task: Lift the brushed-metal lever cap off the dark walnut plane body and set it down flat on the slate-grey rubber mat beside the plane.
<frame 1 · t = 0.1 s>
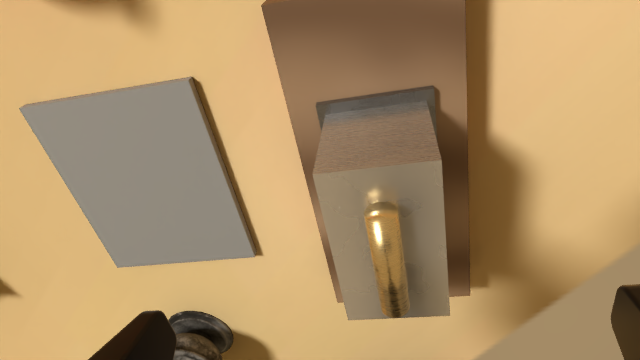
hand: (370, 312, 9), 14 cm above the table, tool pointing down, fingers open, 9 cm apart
weathered candle holder: (200, 331, 34), on the table
lever cap: (385, 181, 21), point 2 cm above the table, touching plane body
plane body: (384, 157, 23), on the table
rubber mat: (150, 184, 26), on the table
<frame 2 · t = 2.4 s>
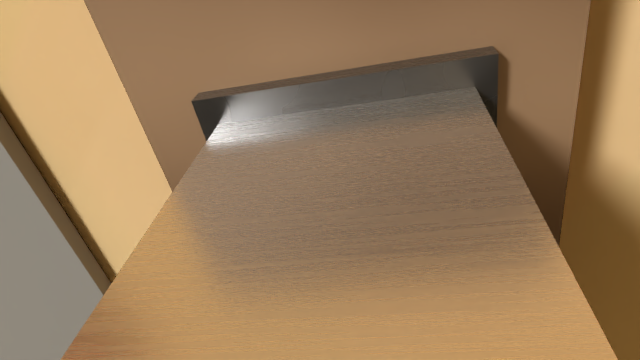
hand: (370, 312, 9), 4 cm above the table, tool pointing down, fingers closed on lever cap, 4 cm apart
lever cap: (370, 271, 10), point 2 cm above the table, touching gripper, plane body
plane body: (370, 206, 12), on the table
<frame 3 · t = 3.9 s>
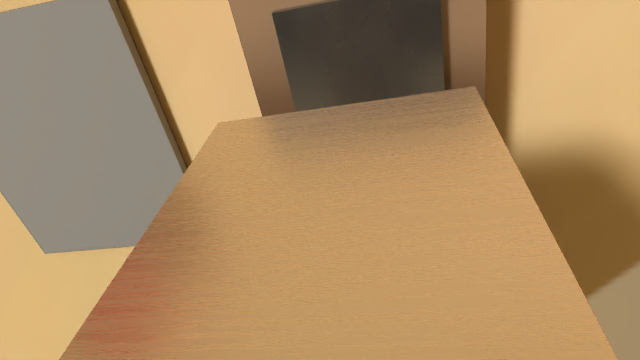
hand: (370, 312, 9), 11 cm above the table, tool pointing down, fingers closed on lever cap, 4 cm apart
lever cap: (370, 270, 10), point 10 cm above the table, touching gripper
plane body: (371, 101, 18), on the table
rubber mat: (74, 144, 20), on the table
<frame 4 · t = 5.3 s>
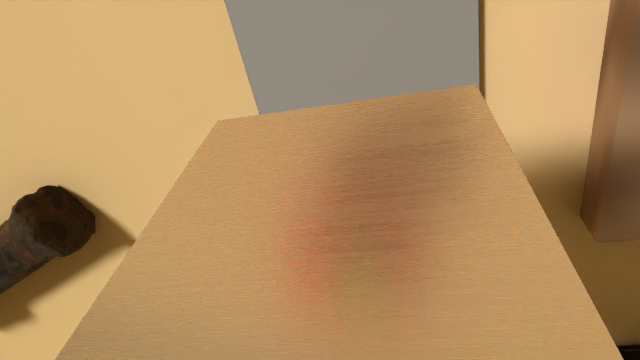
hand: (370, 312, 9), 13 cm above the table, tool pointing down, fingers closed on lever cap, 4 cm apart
lever cap: (370, 269, 10), point 12 cm above the table, touching gripper
rubber mat: (362, 84, 20), on the table
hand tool: (10, 258, 30), on the table
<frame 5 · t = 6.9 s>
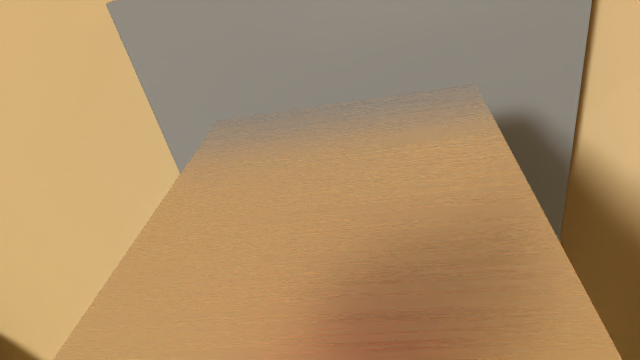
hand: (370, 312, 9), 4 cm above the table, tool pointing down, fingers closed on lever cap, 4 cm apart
lever cap: (369, 269, 10), point 3 cm above the table, touching gripper
rubber mat: (368, 189, 12), on the table
when the fingers open (3 cm above the table, at t = 8.0 s): lever cap drops 1 cm, resting on rubber mat.
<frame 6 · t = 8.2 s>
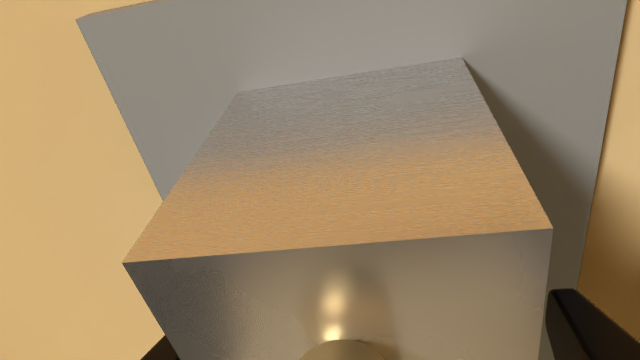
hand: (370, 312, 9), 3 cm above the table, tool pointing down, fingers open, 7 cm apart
lever cap: (370, 229, 11), resting on rubber mat
rubber mat: (369, 218, 11), on the table
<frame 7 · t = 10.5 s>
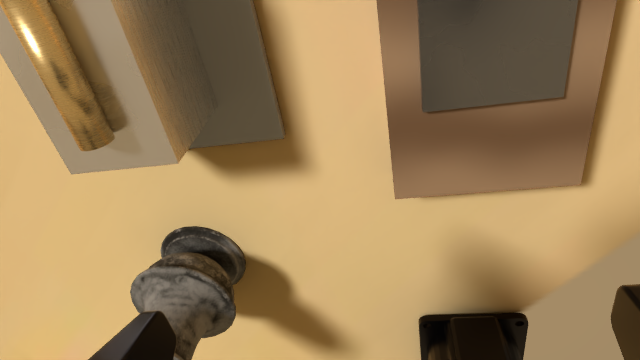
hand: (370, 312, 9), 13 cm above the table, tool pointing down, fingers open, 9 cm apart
weathered candle holder: (204, 256, 27), on the table
lever cap: (139, 26, 18), resting on rubber mat
rubber mat: (144, 24, 19), on the table
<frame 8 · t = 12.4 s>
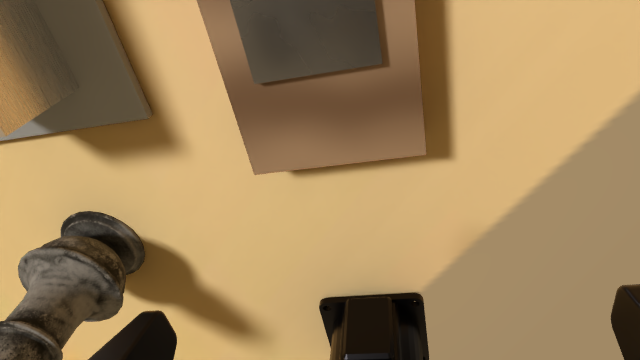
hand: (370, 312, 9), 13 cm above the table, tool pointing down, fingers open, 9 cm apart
weathered candle holder: (105, 242, 27), on the table
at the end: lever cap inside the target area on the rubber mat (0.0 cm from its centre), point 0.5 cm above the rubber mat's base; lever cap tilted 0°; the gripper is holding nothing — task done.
